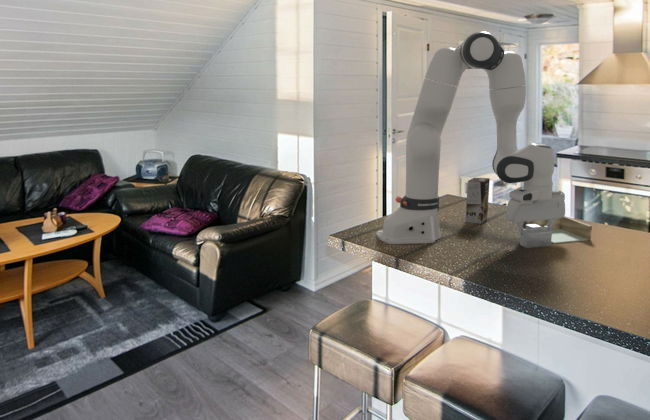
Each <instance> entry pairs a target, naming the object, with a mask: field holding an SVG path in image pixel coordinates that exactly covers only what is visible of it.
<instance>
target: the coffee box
mask: <svg viewBox="0 0 650 420" xmlns="http://www.w3.org/2000/svg"><path fill="white" fill-rule="evenodd" d="M490 180H491V179H490V177H489V178H488V177H487V178H486V177H472V178H471V179H468V180H467V186H466V187H467V188H466V189H467V190H466V203H465V204H466V206H465V222H466V223H472V224H481V225H482V224H483V223H484V222H485V221H486V220H488V214H489V198H490V197H489V195H490Z"/></svg>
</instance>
